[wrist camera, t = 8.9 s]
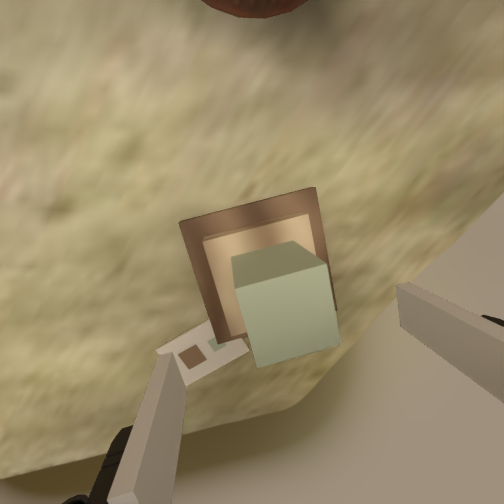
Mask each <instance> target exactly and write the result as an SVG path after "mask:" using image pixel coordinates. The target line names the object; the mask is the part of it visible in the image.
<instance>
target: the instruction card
mask: <svg viewBox="0 0 504 504" xmlns="http://www.w3.org/2000/svg"><path fill="white" fill-rule="evenodd" d="M155 351H156V352H157V353H158V354H159V355H163V354H166V353H169V352H173V355H174V357H175V360H176V363H177V365H178V368H179V370H180V373H181V376H182V378H183V381H184V383H185V386H188V385H190V384H191V383H193V382H195V381H197V380H199V379H200V378H202V377H204V376H206V375H208V374H209V373H211V372H213V371H215V370H217V369H218V368H220V367H222V366H224V365H225V364H227V363H229V362H231V361H233V360H234V359H236V358H238V357H240V356H242V355H243V354H245V353H247V352H249V351H250V349H249V348H248V346H247V345H246V343H245V342H244V340H243V339H242V338H239V339H236V340H232V341H229V342H225V343H222V344H217V341H216V337H215V334H214V331H213V328H212V325H211V322H210V319H208V320H206V321H204V322H203V323H201V324H199V325H197V326H196V327H194V328H192V329H190V330H188V331H187V332H185V333H183V334H181V335H180V336H178V337H176V338H174V339H172V340H171V341H169V342H167V343H165V344H164V345H162V346H160V347H158V348H157V349H156V350H155Z"/></svg>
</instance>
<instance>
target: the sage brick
mask: <svg viewBox="0 0 504 504" xmlns="http://www.w3.org/2000/svg"><path fill="white" fill-rule="evenodd" d="M231 262H232V270H233V279H234V287H235V292H236V295H237V299H238V302H239V306H240V309H241V313H242V316H243V320H244V323H245V327H246V330H247V334H248V337H249V341H250V345H251V348H252V352H253V355H254V359H255V362H256V366H257V369H258V368H261V367H265V366H268V365H272V364H275V363H278V362H282V361H285V360H289V359H292V358H296V357H299V356H302V355H306V354H309V353H313V352H316V351H320V350H323V349H326V348H330V347H333V346H337V345H340V344H341V341H340V335H339V330H338V324H337V318H336V313H335V307H334V301H333V296H332V290H331V285H330V279H329V273H328V268H327V264H326V263H325V262H324V261H322V260H321V259H319V258H318V257H316V256H315V255H314V254H312V253H311V252H309V251H308V250H306V249H305V248H304V247H302V246H301V245H299V244H298V243H296V242H295V241H293V240H292V241H288V242H284V243H281V244H277V245H273V246H269V247H266V248H262V249H258V250H254V251H251V252H247V253H243V254H240V255H236V256H232V257H231Z"/></svg>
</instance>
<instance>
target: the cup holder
mask: <svg viewBox="0 0 504 504" xmlns="http://www.w3.org/2000/svg"><path fill="white" fill-rule="evenodd" d="M202 1H203V2H204V3H206V4H207V5H209V6H210V7H212V8H214V9H217V10H220V11H222V12H225V13H228V14H231V15H234V16H236V17H243V18H269V17H273V16H276V15H280V14H283V13H287V12H291V11H292V10H294V9H295V8H297V7H298V6H300V5H301V4H303V3H304V2H306V1H308V0H202Z"/></svg>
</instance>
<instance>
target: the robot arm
mask: <svg viewBox="0 0 504 504" xmlns="http://www.w3.org/2000/svg"><path fill="white" fill-rule="evenodd" d="M396 289H397V299H398V309H399V318H400V327H402V328H403V329H404V330H406V331H407V332H408V333H410V334H411V335H413V336H414V337H415V338H416V339H418V340H419V341H421V342H422V343H423V344H424V345H426V346H427V347H429V348H430V349H432V350H433V351H434V352H435V353H437V354H438V355H439V356H441V357H442V358H443V359H445V360H446V361H447V362H449V363H450V364H452V365H453V366H454V367H456V368H457V369H458V370H460V371H461V372H463V373H464V374H465V375H466V376H468V377H469V378H471V379H472V380H473V381H474V382H476V383H477V384H478V385H480V386H481V387H483V388H484V389H485V390H487V391H488V392H489V393H491V394H492V395H493V396H495V397H496V398H497V399H499V400H500V401H501V402H503V403H504V321H503V320H501V319H498V318H494V317H490V316H487V315H482V316H479V315H477V314H475V313H473V312H471V311H469V310H466V309H464V308H462V307H460V306H458V305H456V304H454V303H452V302H450V301H448V300H445V299H443V298H441V297H439V296H437V295H435V294H433V293H431V292H429V291H426V290H424V289H422V288H420V287H418V286H416V285H414V284H412V283H410V282H406V283H403V284H399V285H396ZM187 394H188V391H187V389H186V386H185V383H184V381H183V378H182V376H181V373H180V370H179V368H178V365H177V363H176V360H175V357H174V355H173V352H169V353H166V354H163V355H159V356H158V358H157V361H156V364H155V367H154V369H153V372H152V375H151V378H150V381H149V383H148V386H147V389H146V392H145V394H144V397H143V400H142V403H141V406H140V408H139V411H138V414H137V417H136V420H135V422H134V425H132V426H129V427H125V428H122V429H121V430H120V432H119V433H118V435H117V436H116V437H115V439H114V440H113V441H112V443H111V445H110V448H109V450H108V453H107V455H106V458H105V460H104V462H103V465H102V467H101V471H100V472H99V474H98V477H97V479H96V481H95V484H94V486H93V488H92V491H91V493H90V495H89V498H88V497H87V496H86V495H76V496H74V497H72V498H70V499H68V500H67V501H65V502H64V503H63V504H171V503H172V496H173V489H174V482H175V476H176V468H177V462H178V455H179V448H180V442H181V435H182V428H183V421H184V415H185V408H186V401H187Z"/></svg>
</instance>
